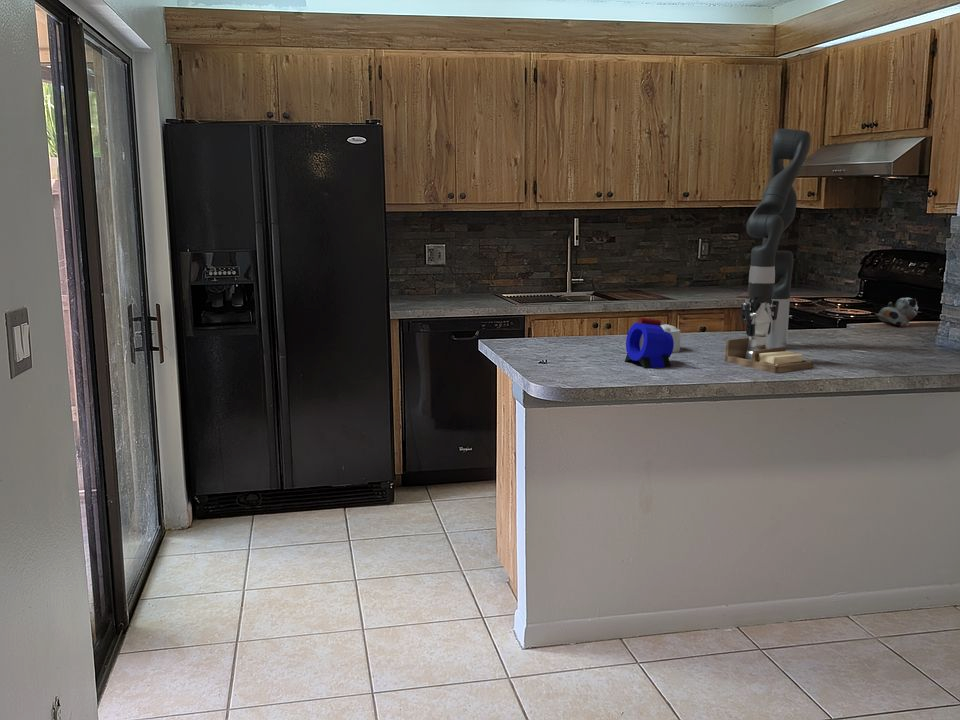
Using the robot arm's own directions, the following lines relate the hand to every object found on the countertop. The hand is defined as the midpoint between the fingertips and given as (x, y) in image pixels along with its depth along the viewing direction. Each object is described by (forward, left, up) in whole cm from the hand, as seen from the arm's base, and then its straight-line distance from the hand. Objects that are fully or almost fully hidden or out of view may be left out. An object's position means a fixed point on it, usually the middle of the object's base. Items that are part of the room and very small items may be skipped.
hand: (758, 334), depth 271 cm
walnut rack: (+5, 0, -10) cm, 11 cm away
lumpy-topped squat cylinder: (-35, -9, -10) cm, 38 cm away
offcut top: (+9, 0, -6) cm, 11 cm away
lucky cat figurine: (-32, +111, -10) cm, 116 cm away
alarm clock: (-18, -27, -10) cm, 34 cm away
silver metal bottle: (0, 0, -10) cm, 10 cm away
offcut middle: (+9, 0, -8) cm, 13 cm away
